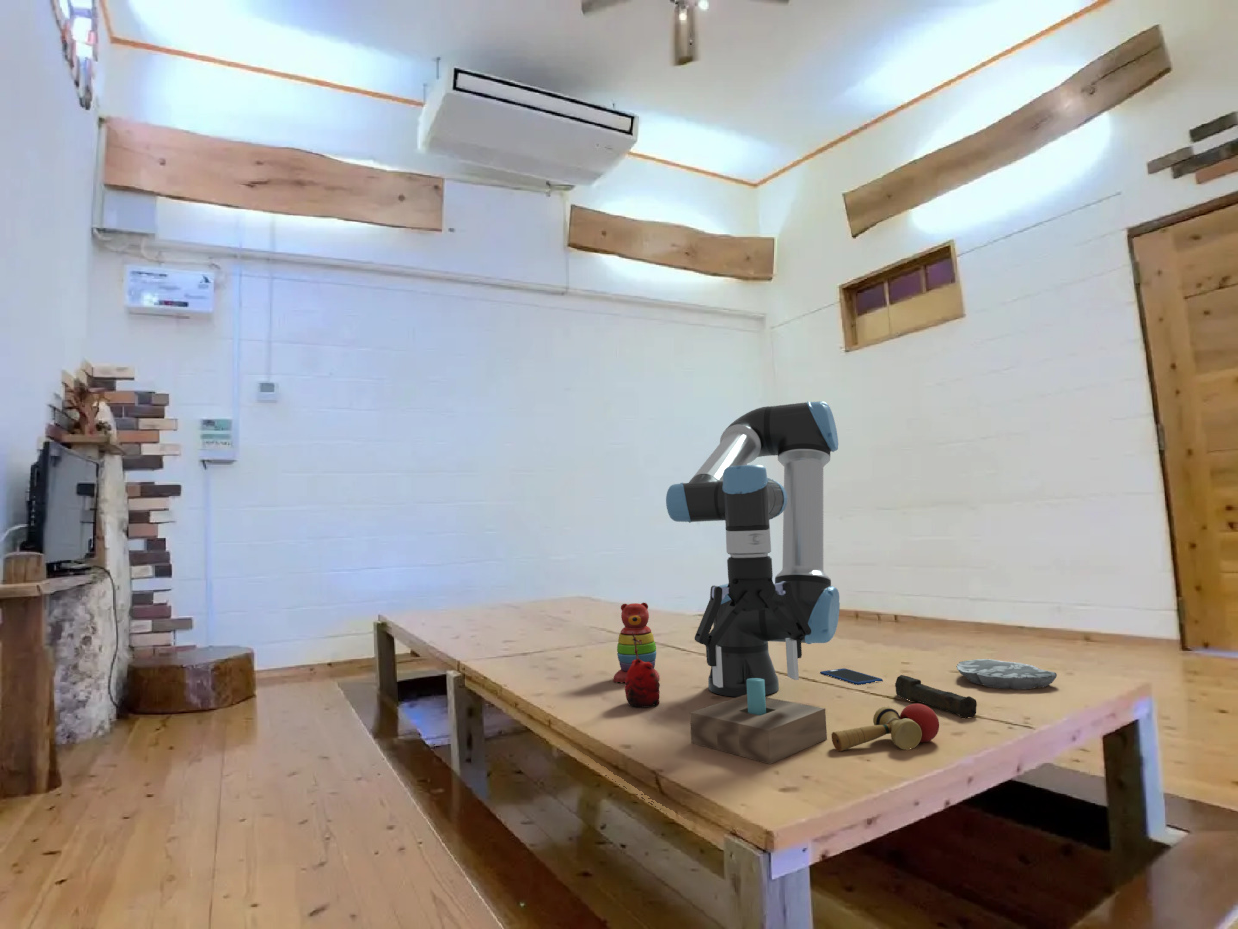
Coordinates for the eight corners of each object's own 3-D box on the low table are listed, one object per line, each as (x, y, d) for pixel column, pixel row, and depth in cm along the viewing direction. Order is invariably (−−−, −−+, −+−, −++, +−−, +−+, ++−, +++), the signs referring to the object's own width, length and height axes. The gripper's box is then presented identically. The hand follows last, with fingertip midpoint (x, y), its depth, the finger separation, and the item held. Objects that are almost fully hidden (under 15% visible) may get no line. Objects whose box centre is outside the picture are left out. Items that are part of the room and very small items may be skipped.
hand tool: (979, 718, 128) (977, 692, 128) (961, 721, 127) (959, 694, 127) (908, 695, 146) (906, 672, 146) (891, 697, 145) (890, 674, 145)
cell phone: (844, 671, 170) (844, 668, 170) (884, 683, 157) (884, 679, 157) (818, 674, 168) (818, 671, 168) (857, 687, 155) (857, 683, 155)
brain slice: (935, 679, 158) (934, 665, 159) (989, 670, 165) (988, 657, 165) (1015, 698, 141) (1013, 683, 141) (1072, 687, 147) (1071, 672, 147)
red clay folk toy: (667, 704, 146) (664, 629, 147) (645, 711, 140) (642, 634, 141) (639, 698, 151) (636, 626, 152) (617, 706, 145) (614, 631, 147)
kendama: (854, 769, 109) (955, 739, 113) (843, 726, 110) (943, 698, 114) (831, 762, 116) (927, 735, 120) (820, 722, 117) (915, 696, 121)
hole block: (691, 742, 120) (689, 712, 120) (749, 721, 131) (748, 693, 131) (770, 764, 108) (768, 730, 108) (827, 739, 119) (825, 708, 119)
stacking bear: (612, 683, 165) (609, 606, 167) (618, 674, 175) (615, 601, 177) (658, 683, 164) (655, 605, 165) (661, 673, 174) (658, 600, 175)
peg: (745, 741, 119) (742, 680, 120) (756, 737, 121) (753, 677, 122) (760, 744, 117) (757, 682, 118) (771, 740, 119) (768, 679, 120)
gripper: (686, 560, 115) (692, 694, 114) (826, 552, 121) (834, 679, 119) (672, 558, 123) (678, 683, 121) (805, 550, 128) (812, 670, 127)
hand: (756, 682), depth 120 cm, fingers open, 13 cm apart
